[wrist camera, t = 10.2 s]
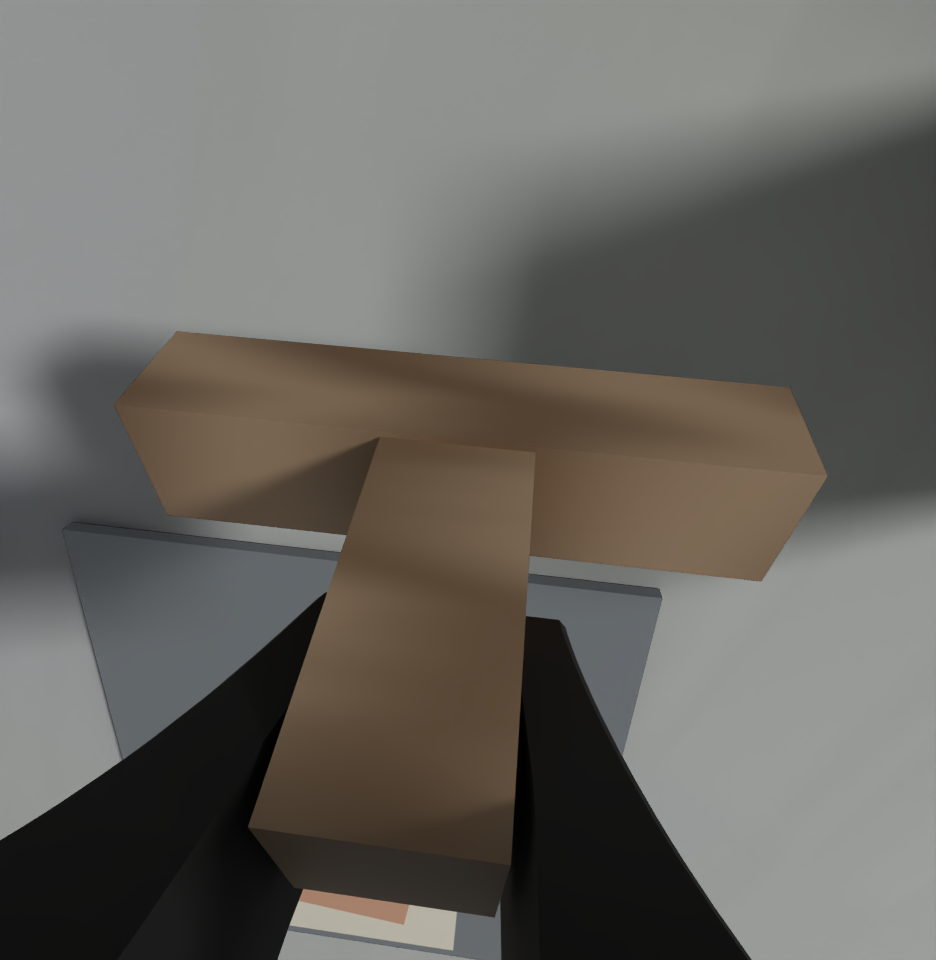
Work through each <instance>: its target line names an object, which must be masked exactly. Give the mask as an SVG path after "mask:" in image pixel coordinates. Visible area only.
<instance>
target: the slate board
mask: <svg viewBox="0 0 936 960" xmlns="http://www.w3.org/2000/svg"><path fill="white" fill-rule="evenodd" d="M62 532H63V536H64V539H65V543H66V547H67V551H68V554H69V558H70V562H71V566H72V569H73V573H74V577H75V581H76V585H77V588H78V592H79V596H80V600H81V603H82V607H83V611H84V615H85V619H86V622H87V626H88V630H89V634H90V637H91V641H92V645H93V649H94V652H95V656H96V660H97V664H98V668H99V671H100V675H101V679H102V683H103V686H104V690H105V694H106V698H107V701H108V705H109V709H110V713H111V717H112V720H113V724H114V728H115V732H116V735H117V739H118V743H119V747H120V750H121V754H122V758H123V759H125V758H126V757H127V756H129V755H130V754H131V753H133V752H134V751H136V750H137V749H138V748H140V747H141V746H142V745H144V744H145V743H147V742H148V741H149V740H151V739H152V738H153V737H154V736H156V735H157V734H158V733H160V732H161V731H162V730H163V729H165V728H166V727H167V726H169V725H170V724H171V723H172V722H174V721H175V720H176V719H178V718H179V717H180V716H181V715H183V714H184V713H185V712H186V711H188V710H189V709H190V708H192V707H193V706H194V705H195V704H197V703H198V702H199V701H201V700H202V699H203V698H204V697H206V696H207V695H208V694H209V693H211V692H212V691H213V690H214V689H215V688H217V687H218V686H219V685H220V684H221V683H222V682H224V681H225V680H226V679H227V678H228V677H229V676H231V675H232V674H233V673H234V672H235V671H237V670H238V669H239V668H240V667H241V666H242V665H244V664H245V663H246V662H247V661H248V660H249V659H251V658H252V657H253V656H254V655H255V654H256V653H258V652H259V651H260V650H261V649H262V648H263V647H264V646H265V645H267V644H268V643H269V642H270V641H271V640H272V639H273V638H274V637H276V636H277V635H278V634H279V633H280V632H281V631H282V630H283V629H284V628H286V627H287V626H288V625H289V624H290V623H291V622H292V621H293V620H294V619H295V618H296V617H298V616H299V615H300V614H301V613H302V612H303V611H304V610H305V609H306V608H307V607H309V606H310V605H311V604H312V603H313V602H314V601H315V600H316V599H317V598H319V597H320V596H321V595H323V594H324V593H325V592H328V589H329V586H330V583H331V580H332V577H333V574H334V571H335V568H336V565H337V562H338V559H339V556H340V553H338V552H329V551H320V550H311V549H303V548H294V547H285V546H276V545H267V544H259V543H250V542H241V541H232V540H223V539H214V538H206V537H197V536H188V535H179V534H170V533H162V532H153V531H144V530H135V529H126V528H118V527H109V526H100V525H91V524H82V523H73V522H72V523H71V524H69V525H68V526H66V527H65V528H64V529H62ZM661 602H662V596H661V592H660V589H655V588H646V587H638V586H629V585H620V584H611V583H602V582H594V581H585V580H576V579H567V578H558V577H549V576H541V575H532V574H528V587H527V604H526V616H531V617H539V618H548V619H556V620H560V622H561V623H562V624H563V625H564V626H565V627H566V631H567V634H568V637H569V640H570V643H571V646H572V649H573V651H574V654H575V657H576V659H577V662H578V664H579V667H580V669H581V672H582V674H583V676H584V678H585V681H586V683H587V685H588V688H589V690H590V692H591V694H592V697H593V699H594V701H595V703H596V705H597V707H598V709H599V711H600V714H601V715H602V717H603V719H604V721H605V723H606V725H607V727H608V729H609V731H610V733H611V735H612V737H613V739H614V741H615V743H616V745H617V747H618V749H619V751H620V753H621V755H622V756H623V752H624V748H625V744H626V740H627V736H628V732H629V728H630V724H631V720H632V716H633V712H634V708H635V704H636V700H637V696H638V692H639V688H640V684H641V681H642V677H643V673H644V669H645V665H646V661H647V657H648V653H649V649H650V645H651V641H652V637H653V633H654V629H655V625H656V621H657V617H658V613H659V610H660V606H661ZM288 930H289V931H295V932H302V933H308V934H314V935H321V936H327V937H334V938H340V939H347V940H353V941H360V942H366V943H372V944H379V945H385V946H392V947H398V948H405V949H411V950H418V951H424V952H431V953H437V954H443V955H450V956H456V957H463V958H469V959H476V960H501V918H500V902H499V906H498V909H497V912H496V915H495V918H493V917H487V916H480V915H473V914H467V913H460V912H453V911H447V910H440V909H434V908H427V907H420V906H414V905H409V907H408V911H407V915H406V919H405V923H404V925H402V924H398V923H393V922H389V921H385V920H380V919H376V918H372V917H367V916H363V915H358V914H354V913H350V912H345V911H341V910H337V909H332V908H328V907H323V906H319V905H315V904H310V903H306V902H301V901H299V902H298V904H297V907H296V910H295V912H294V915H293V917H292V920H291V923H290V925H289V928H288Z"/></svg>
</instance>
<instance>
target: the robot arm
mask: <svg viewBox="0 0 936 960" xmlns="http://www.w3.org/2000/svg"><path fill="white" fill-rule="evenodd" d="M326 595H327V592H325V593H324V594H323V595H321V596H320V597H319V598H317V599H316V600H315V601H314V602H313V603H312V604H311V605H310V606H309V607H307V608H306V609H305V610H304V611H303V612H302V613H301V614H300V615H299V616H298V617H296V618H295V619H294V620H293V621H292V622H291V623H290V624H289V625H288V626H287V627H286V628H284V629H283V630H282V631H281V632H280V633H279V634H278V635H277V636H276V637H274V638H273V639H272V640H271V641H270V642H269V643H268V644H267V645H265V646H264V647H263V648H262V649H261V650H260V651H259V652H258V653H256V654H255V655H254V656H253V657H252V658H251V659H249V660H248V661H247V662H246V663H245V664H244V665H242V666H241V667H240V668H239V669H238V670H237V671H235V672H234V673H233V674H232V675H231V676H229V677H228V678H227V679H226V680H225V681H224V682H222V683H221V684H220V685H219V686H218V687H217V688H215V689H214V690H213V691H212V692H211V693H209V694H208V695H207V696H206V697H204V698H203V699H202V700H201V701H199V702H198V703H197V704H195V705H194V706H193V707H192V708H190V709H189V710H188V711H186V712H185V713H184V714H183V715H181V716H180V717H179V718H178V719H176V720H175V721H174V722H172V723H171V724H170V725H169V726H167V727H166V728H165V729H163V730H162V731H161V732H160V733H158V734H157V735H156V736H154V737H153V738H152V739H151V740H149V741H148V742H147V743H145V744H144V745H142V746H141V747H140V748H138V749H137V750H136V751H134V752H133V753H131V754H130V755H129V756H127V757H126V758H125V759H123V760H122V761H120V762H119V763H118V764H116V765H115V766H113V767H112V768H111V769H109V770H108V771H106V772H105V773H104V774H102V775H101V776H99V777H98V778H96V779H95V780H93V781H92V782H90V783H89V784H87V785H86V786H84V787H83V788H82V789H80V790H79V791H77V792H76V793H74V794H73V795H71V796H70V797H68V798H67V799H65V800H64V801H62V802H61V803H59V804H58V805H56V806H55V807H53V808H52V809H50V810H49V811H47V812H45V813H44V814H42V815H41V816H39V817H38V818H36V819H34V820H33V821H31V822H30V823H28V824H26V825H25V826H23V827H22V828H20V829H18V830H17V831H15V832H13V833H12V834H10V835H8V836H7V837H5V838H3V839H2V840H0V960H277V959H278V956H279V953H280V950H281V948H282V945H283V942H284V939H285V936H286V933H287V930H288V928H289V925H290V923H291V920H292V917H293V915H294V912H295V910H296V907H297V904H298V902H299V899H300V897H301V894H302V891H303V889H300V888H294V887H293V885H292V884H291V883H290V882H289V880H288V879H287V878H286V876H285V875H284V874H283V872H282V871H281V870H280V868H279V867H278V866H277V865H276V863H275V862H274V861H273V859H272V858H271V857H270V855H269V854H268V853H267V852H266V850H265V849H264V848H263V846H262V845H261V844H260V842H259V841H258V840H257V838H256V837H255V836H254V835H253V833H252V832H251V831H250V829H249V828H248V825H249V822H250V819H251V816H252V814H253V811H254V808H255V805H256V802H257V799H258V796H259V793H260V790H261V787H262V784H263V781H264V778H265V775H266V772H267V769H268V766H269V763H270V760H271V757H272V754H273V751H274V749H275V746H276V743H277V740H278V737H279V734H280V731H281V728H282V725H283V722H284V719H285V716H286V713H287V710H288V707H289V704H290V701H291V698H292V695H293V692H294V689H295V686H296V683H297V681H298V678H299V675H300V672H301V669H302V666H303V663H304V660H305V657H306V654H307V651H308V648H309V645H310V642H311V639H312V636H313V633H314V630H315V627H316V624H317V621H318V618H319V615H320V613H321V610H322V607H323V604H324V601H325V598H326ZM500 918H501V960H751V958H750V957H749V955H748V954H747V953H746V951H745V950H744V948H743V947H742V946H741V944H740V943H739V941H738V940H737V938H736V937H735V936H734V934H733V933H732V931H731V930H730V929H729V927H728V926H727V924H726V923H725V921H724V920H723V919H722V917H721V916H720V914H719V913H718V912H717V910H716V909H715V907H714V906H713V904H712V903H711V901H710V900H709V898H708V897H707V895H706V894H705V892H704V891H703V889H702V888H701V886H700V885H699V883H698V882H697V880H696V879H695V877H694V876H693V874H692V873H691V871H690V870H689V868H688V867H687V865H686V864H685V862H684V861H683V859H682V857H681V856H680V854H679V853H678V851H677V849H676V848H675V846H674V845H673V843H672V842H671V840H670V838H669V837H668V835H667V833H666V832H665V830H664V828H663V827H662V825H661V824H660V822H659V820H658V819H657V817H656V815H655V813H654V812H653V810H652V808H651V807H650V805H649V803H648V801H647V800H646V798H645V796H644V794H643V793H642V791H641V789H640V788H639V786H638V784H637V782H636V781H635V779H634V777H633V775H632V773H631V772H630V770H629V768H628V766H627V764H626V762H625V760H624V759H623V757H622V755H621V753H620V751H619V749H618V747H617V745H616V743H615V741H614V739H613V737H612V735H611V733H610V731H609V729H608V727H607V725H606V723H605V721H604V719H603V717H602V715H601V714H600V711H599V709H598V707H597V705H596V703H595V701H594V699H593V697H592V694H591V692H590V690H589V688H588V685H587V683H586V681H585V678H584V676H583V674H582V672H581V669H580V667H579V664H578V662H577V659H576V657H575V654H574V651H573V649H572V646H571V643H570V640H569V637H568V634H567V631H566V627H565V626H564V625H563V624H562V623H561V622H560V620H556V619H548V618H539V617H531V616H526V620H525V637H524V654H523V670H522V687H521V704H520V720H519V737H518V754H517V770H516V787H515V804H514V820H513V837H512V854H511V866H510V869H509V873H508V876H507V879H506V883H505V886H504V889H503V892H502V896H501V899H500Z"/></svg>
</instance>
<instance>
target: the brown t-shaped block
mask: <svg viewBox="0 0 936 960" xmlns="http://www.w3.org/2000/svg"><path fill="white" fill-rule="evenodd" d="M114 406H115V409H116V411H117V413H118V415H119V417H120V419H121V421H122V423H123V425H124V427H125V429H126V431H127V433H128V435H129V437H130V439H131V441H132V443H133V445H134V448H135V450H136V452H137V454H138V456H139V458H140V460H141V462H142V464H143V466H144V468H145V470H146V472H147V474H148V476H149V478H150V480H151V482H152V484H153V487H154V489H155V491H156V493H157V495H158V497H159V499H160V501H161V503H162V505H163V507H164V509H165V511H166V513H167V515H170V516H179V517H188V518H197V519H206V520H215V521H224V522H233V523H242V524H251V525H260V526H269V527H278V528H287V529H296V530H305V531H314V532H323V533H332V534H341V535H347V536H346V539H345V542H344V545H343V547H342V550H341V553H340V556H339V559H338V562H337V565H336V568H335V571H334V574H333V577H332V580H331V583H330V586H329V589H328V592H327V595H326V598H325V601H324V604H323V607H322V610H321V613H320V615H319V618H318V621H317V624H316V627H315V630H314V633H313V636H312V639H311V642H310V645H309V648H308V651H307V654H306V657H305V660H304V663H303V666H302V669H301V672H300V675H299V678H298V681H297V683H296V686H295V689H294V692H293V695H292V698H291V701H290V704H289V707H288V710H287V713H286V716H285V719H284V722H283V725H282V728H281V731H280V734H279V737H278V740H277V743H276V746H275V749H274V751H273V754H272V757H271V760H270V763H269V766H268V769H267V772H266V775H265V778H264V781H263V784H262V787H261V790H260V793H259V796H258V799H257V802H256V805H255V808H254V811H253V814H252V816H251V819H250V822H249V825H248V828H249V829H250V831H251V832H252V833H253V835H254V836H255V837H256V838H257V840H258V841H259V842H260V844H261V845H262V846H263V848H264V849H265V850H266V852H267V853H268V854H269V855H270V857H271V858H272V859H273V861H274V862H275V863H276V865H277V866H278V867H279V868H280V870H281V871H282V872H283V874H284V875H285V876H286V878H287V879H288V880H289V882H290V883H291V884H292V885H293V887H294V888H300V889H307V890H314V891H320V892H327V893H334V894H340V895H347V896H354V897H360V898H367V899H374V900H380V901H387V902H394V903H400V904H407V905H414V906H420V907H427V908H434V909H440V910H447V911H453V912H460V913H467V914H473V915H480V916H487V917H493V918H495V915H496V912H497V909H498V906H499V902H500V899H501V896H502V892H503V889H504V886H505V883H506V879H507V876H508V873H509V869H510V866H511V854H512V837H513V820H514V804H515V787H516V770H517V754H518V737H519V720H520V704H521V687H522V670H523V654H524V637H525V620H526V604H527V587H528V570H529V556H538V557H547V558H556V559H565V560H574V561H583V562H592V563H601V564H610V565H619V566H628V567H637V568H646V569H654V570H663V571H672V572H681V573H690V574H699V575H708V576H717V577H726V578H735V579H744V580H753V581H762V580H763V578H764V577H765V575H766V573H767V572H768V570H769V569H770V567H771V565H772V564H773V562H774V561H775V559H776V558H777V556H778V554H779V553H780V551H781V550H782V548H783V546H784V545H785V543H786V542H787V540H788V539H789V537H790V535H791V534H792V532H793V531H794V529H795V527H796V526H797V524H798V523H799V521H800V520H801V518H802V516H803V515H804V513H805V512H806V510H807V509H808V507H809V505H810V504H811V502H812V501H813V499H814V497H815V496H816V494H817V493H818V491H819V490H820V488H821V486H822V485H823V483H824V482H825V480H826V478H827V477H828V475H827V473H826V471H825V468H824V466H823V464H822V461H821V459H820V457H819V454H818V452H817V449H816V447H815V445H814V442H813V440H812V438H811V435H810V433H809V431H808V428H807V426H806V424H805V421H804V419H803V417H802V414H801V412H800V410H799V407H798V405H797V403H796V400H795V398H794V396H793V393H792V391H791V389H790V387H781V386H770V385H759V384H748V383H737V382H726V381H715V380H704V379H693V378H682V377H672V376H661V375H650V374H639V373H628V372H617V371H606V370H595V369H584V368H573V367H562V366H551V365H540V364H529V363H518V362H507V361H496V360H485V359H474V358H463V357H452V356H441V355H431V354H420V353H409V352H398V351H387V350H376V349H365V348H354V347H343V346H332V345H321V344H310V343H299V342H288V341H277V340H266V339H255V338H244V337H233V336H222V335H211V334H200V333H190V332H179V331H177V332H176V333H175V334H174V335H173V336H172V338H171V339H170V340H169V341H168V342H167V343H166V345H165V346H164V347H163V348H162V349H161V350H160V351H159V353H158V354H157V355H156V356H155V357H154V358H153V360H152V361H151V362H150V363H149V364H148V365H147V367H146V368H145V369H144V370H143V371H142V372H141V374H140V375H139V376H138V377H137V378H136V379H135V381H134V382H133V383H132V384H131V385H130V386H129V388H128V389H127V390H126V391H125V392H124V393H123V394H122V396H121V397H120V398H119V399H118V400H117V401H116V403H115V404H114Z"/></svg>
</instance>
